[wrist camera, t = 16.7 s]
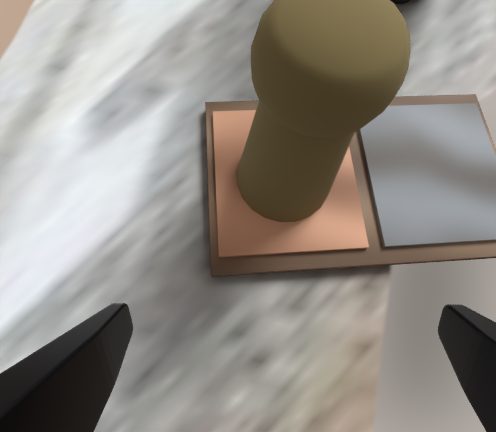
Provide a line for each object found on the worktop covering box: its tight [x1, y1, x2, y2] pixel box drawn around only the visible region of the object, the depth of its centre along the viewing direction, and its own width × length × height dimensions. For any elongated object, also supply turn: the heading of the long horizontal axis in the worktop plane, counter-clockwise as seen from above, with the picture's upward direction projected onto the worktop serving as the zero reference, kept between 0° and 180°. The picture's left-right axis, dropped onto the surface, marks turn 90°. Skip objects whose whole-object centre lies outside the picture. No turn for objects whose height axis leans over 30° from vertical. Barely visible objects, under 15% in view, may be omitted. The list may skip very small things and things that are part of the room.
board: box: [205, 94, 496, 277], centre depth 20 cm, size 12×20×1 cm, turn 94°
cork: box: [237, 0, 410, 222], centre depth 14 cm, size 6×6×11 cm
